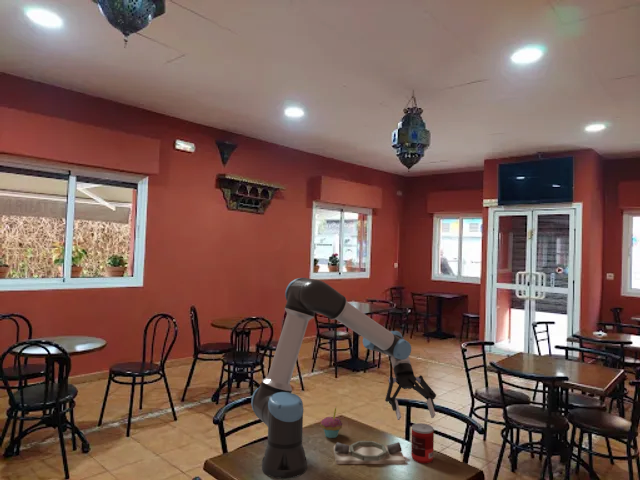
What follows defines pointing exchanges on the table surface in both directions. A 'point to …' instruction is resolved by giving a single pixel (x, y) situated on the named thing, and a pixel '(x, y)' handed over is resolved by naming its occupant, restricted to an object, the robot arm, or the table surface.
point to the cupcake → (331, 426)
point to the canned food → (422, 443)
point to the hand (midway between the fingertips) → (416, 417)
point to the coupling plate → (368, 453)
